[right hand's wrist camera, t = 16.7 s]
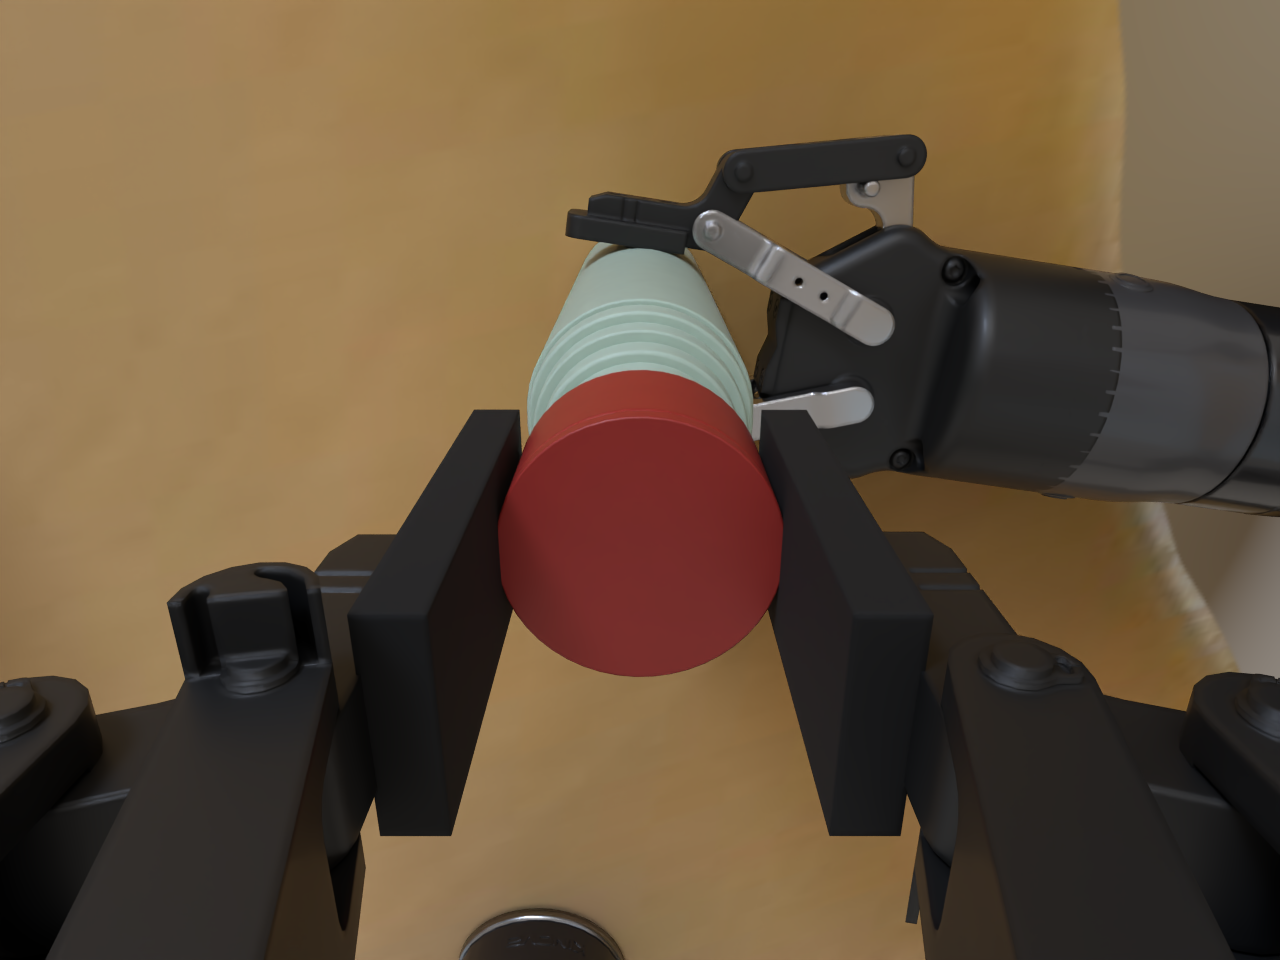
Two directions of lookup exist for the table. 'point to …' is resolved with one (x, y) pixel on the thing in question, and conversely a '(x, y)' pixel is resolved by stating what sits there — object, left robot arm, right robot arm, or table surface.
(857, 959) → the table surface
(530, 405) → the bottle
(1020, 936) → the right robot arm
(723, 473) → the cap
